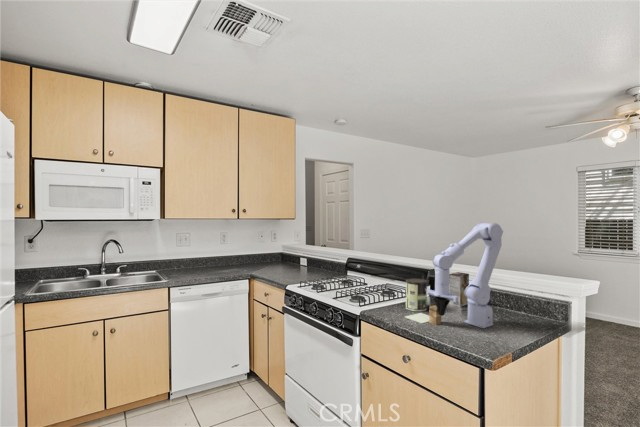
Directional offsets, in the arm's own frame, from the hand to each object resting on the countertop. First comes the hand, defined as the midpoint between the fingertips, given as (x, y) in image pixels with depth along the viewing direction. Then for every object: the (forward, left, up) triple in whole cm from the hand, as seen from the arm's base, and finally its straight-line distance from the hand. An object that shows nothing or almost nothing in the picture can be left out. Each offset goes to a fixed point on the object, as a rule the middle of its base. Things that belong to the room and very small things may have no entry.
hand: (441, 314), depth 146 cm
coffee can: (+22, -10, -5) cm, 25 cm away
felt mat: (+11, 0, -4) cm, 12 cm away
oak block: (+3, 0, -4) cm, 6 cm away
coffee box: (+15, -35, -5) cm, 38 cm away
